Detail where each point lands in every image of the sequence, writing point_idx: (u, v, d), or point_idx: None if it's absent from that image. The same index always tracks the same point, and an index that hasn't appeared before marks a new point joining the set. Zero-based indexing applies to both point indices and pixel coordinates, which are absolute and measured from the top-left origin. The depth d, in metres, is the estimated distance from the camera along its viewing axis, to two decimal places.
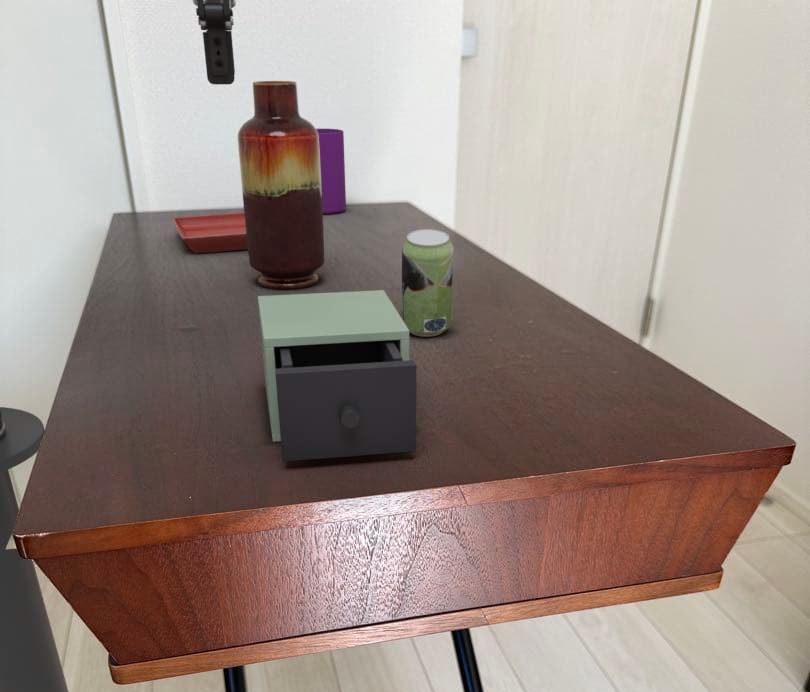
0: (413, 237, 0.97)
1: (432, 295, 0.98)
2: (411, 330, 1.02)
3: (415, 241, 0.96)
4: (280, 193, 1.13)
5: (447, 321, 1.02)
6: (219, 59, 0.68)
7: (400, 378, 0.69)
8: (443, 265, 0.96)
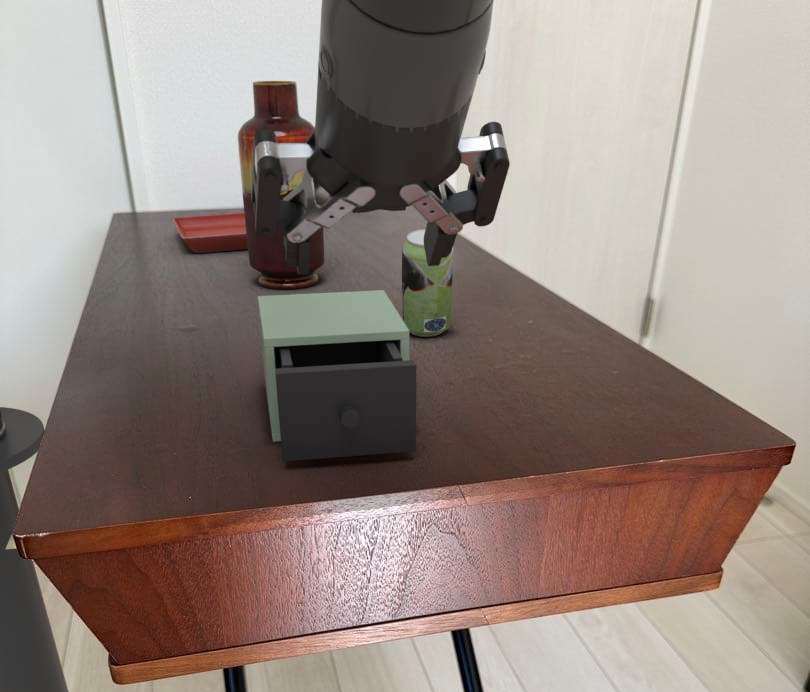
0: (413, 237, 0.97)
1: (432, 295, 0.98)
2: (411, 330, 1.02)
3: (415, 241, 0.96)
4: (280, 193, 1.13)
5: (447, 321, 1.02)
6: (286, 246, 0.52)
7: (400, 378, 0.69)
8: (443, 265, 0.96)
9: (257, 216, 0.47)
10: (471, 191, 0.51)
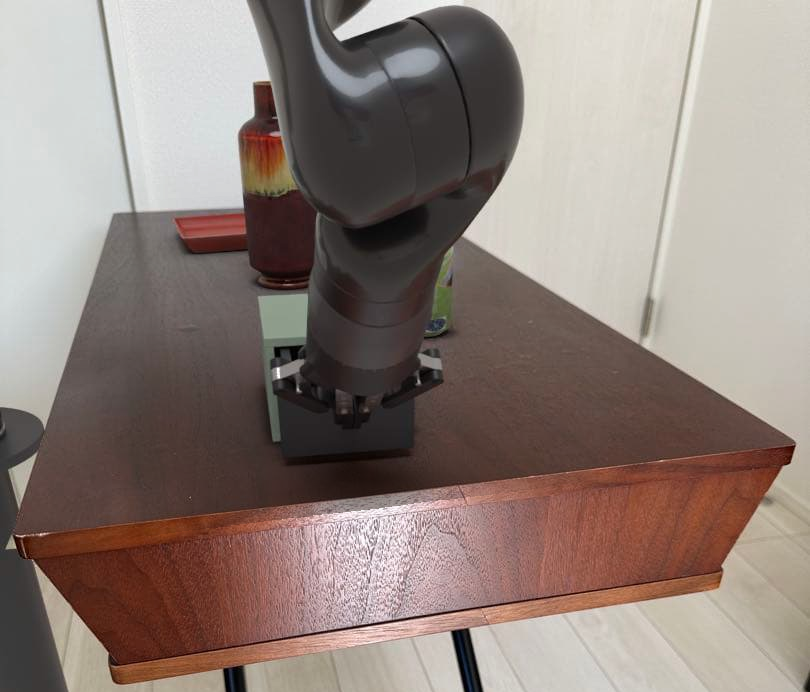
0: None
1: None
2: None
3: None
4: (280, 193, 1.13)
5: (447, 321, 1.02)
6: None
7: None
8: (443, 265, 0.96)
9: (304, 407, 0.62)
10: None
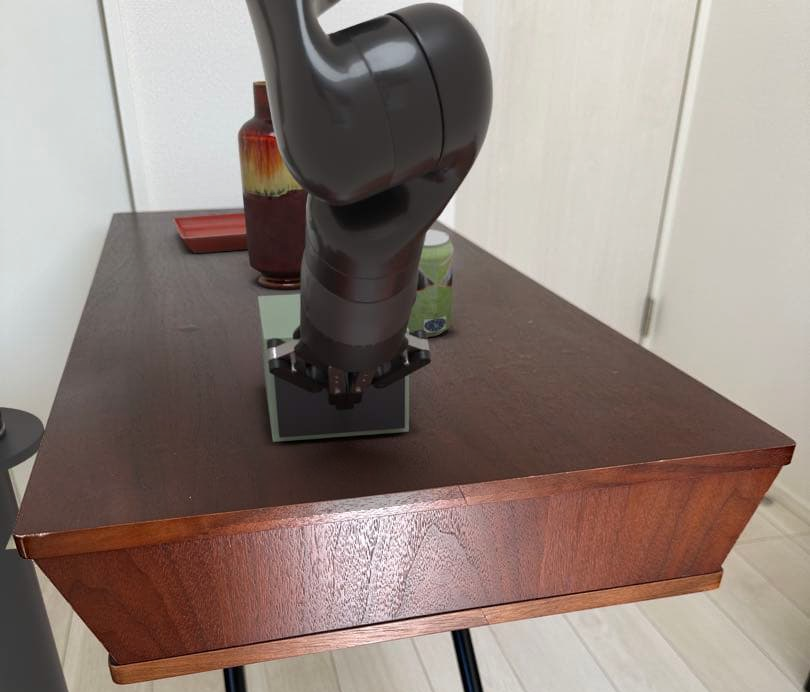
0: None
1: (432, 295, 0.98)
2: (411, 330, 1.02)
3: None
4: (280, 193, 1.13)
5: (447, 321, 1.02)
6: None
7: None
8: (443, 265, 0.96)
9: (299, 386, 0.66)
10: None
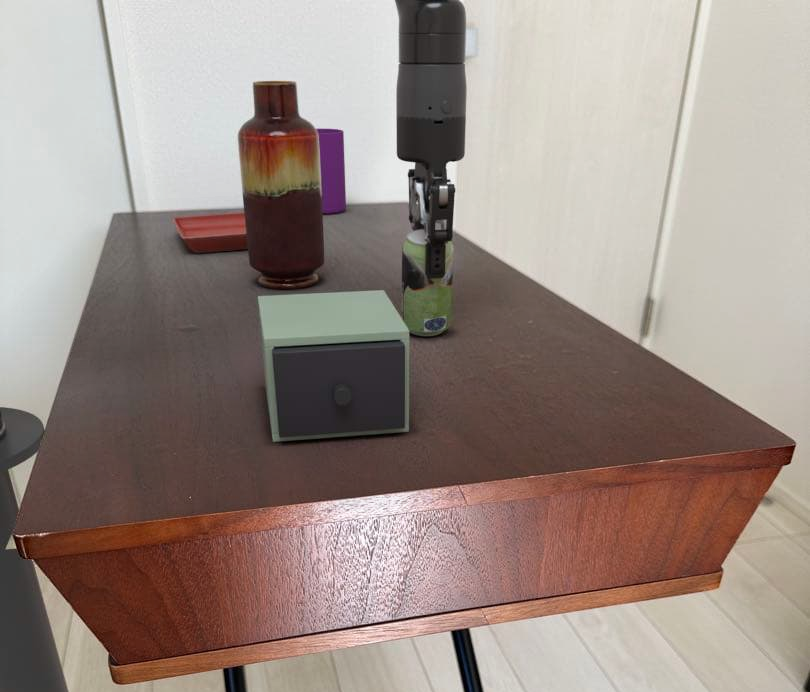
0: (413, 237, 0.97)
1: (432, 294, 0.98)
2: (411, 329, 1.02)
3: (415, 240, 0.96)
4: (280, 193, 1.13)
5: (447, 321, 1.02)
6: (437, 263, 0.95)
7: (390, 358, 0.73)
8: None
9: (452, 224, 0.91)
10: None
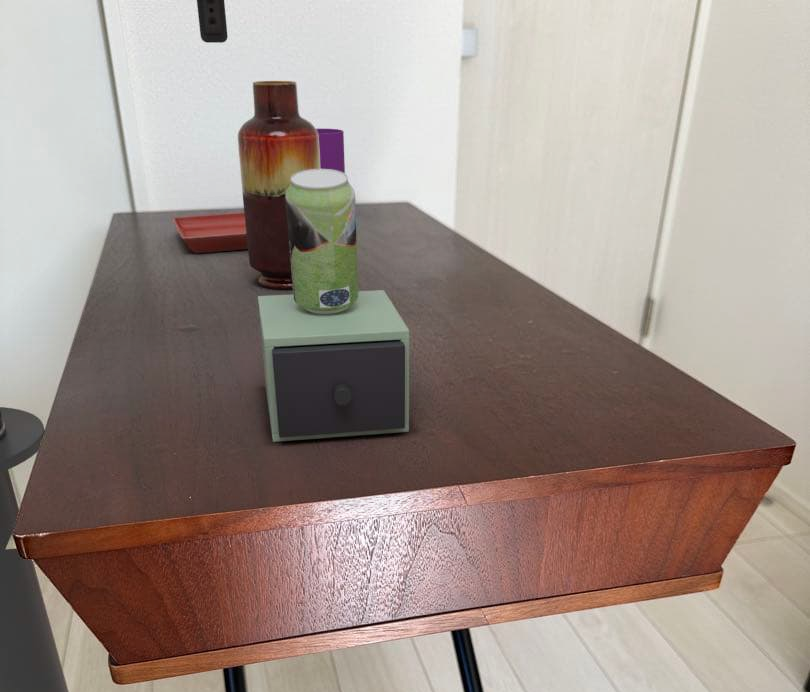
0: (299, 178, 0.72)
1: (327, 257, 0.73)
2: (304, 305, 0.77)
3: (301, 183, 0.71)
4: (280, 193, 1.13)
5: (351, 293, 0.77)
6: (212, 16, 0.69)
7: (390, 358, 0.73)
8: (340, 215, 0.71)
9: None
10: None
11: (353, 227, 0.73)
